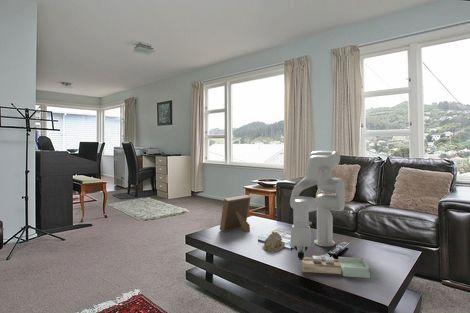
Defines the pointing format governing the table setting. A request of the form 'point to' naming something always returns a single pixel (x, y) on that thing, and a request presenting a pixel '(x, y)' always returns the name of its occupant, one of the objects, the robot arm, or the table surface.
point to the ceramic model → (273, 242)
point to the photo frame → (235, 213)
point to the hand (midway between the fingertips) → (300, 259)
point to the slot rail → (321, 266)
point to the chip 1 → (317, 260)
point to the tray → (354, 267)
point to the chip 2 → (329, 260)
